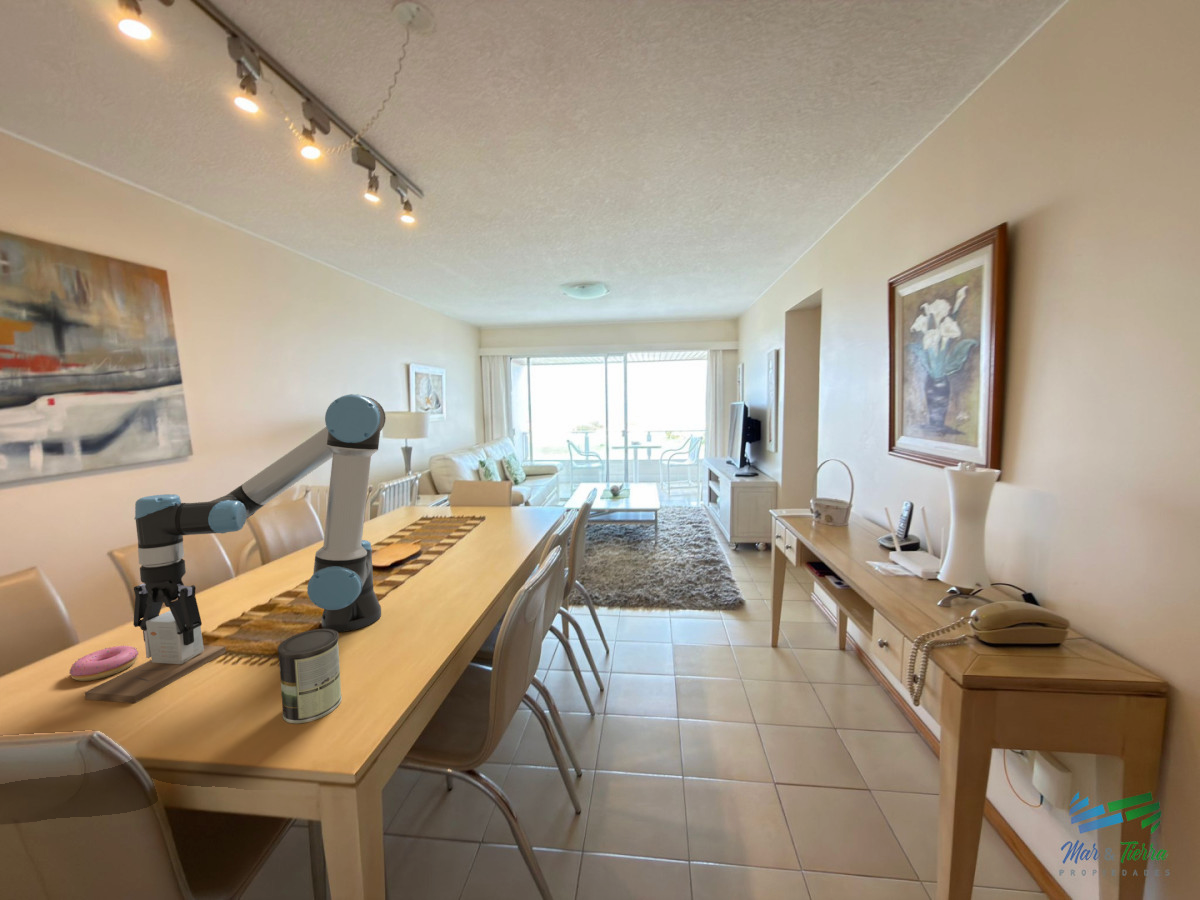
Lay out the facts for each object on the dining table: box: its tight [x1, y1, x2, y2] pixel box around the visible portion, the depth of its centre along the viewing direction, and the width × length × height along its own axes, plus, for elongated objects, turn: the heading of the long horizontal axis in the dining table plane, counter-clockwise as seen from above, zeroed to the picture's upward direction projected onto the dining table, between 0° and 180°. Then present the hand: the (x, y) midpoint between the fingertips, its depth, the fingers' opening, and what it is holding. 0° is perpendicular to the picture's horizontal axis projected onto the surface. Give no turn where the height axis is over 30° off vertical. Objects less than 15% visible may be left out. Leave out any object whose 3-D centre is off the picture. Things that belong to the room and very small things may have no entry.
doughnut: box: [69, 645, 139, 682], centre depth 106 cm, size 11×11×4 cm
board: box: [84, 644, 227, 704], centre depth 104 cm, size 12×20×2 cm, turn 173°
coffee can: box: [277, 628, 343, 725], centre depth 91 cm, size 10×10×14 cm
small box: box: [146, 609, 204, 664], centre depth 107 cm, size 8×6×10 cm
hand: (170, 655), depth 106 cm, fingers open, 8 cm apart
